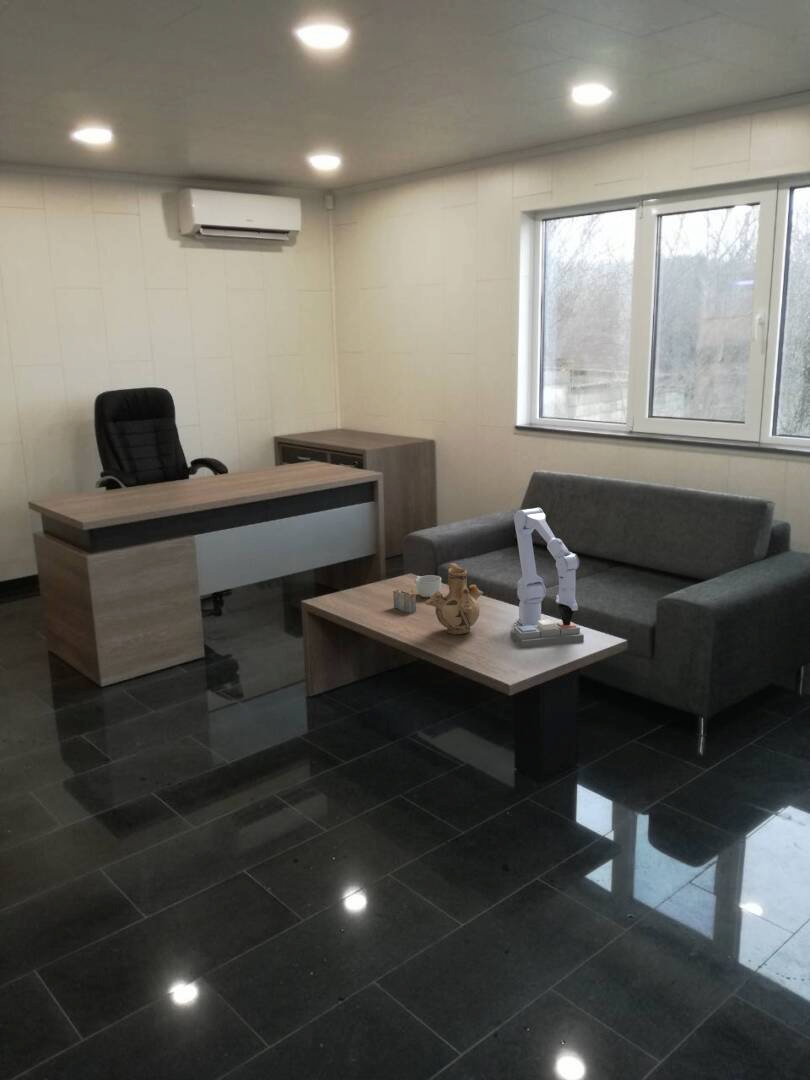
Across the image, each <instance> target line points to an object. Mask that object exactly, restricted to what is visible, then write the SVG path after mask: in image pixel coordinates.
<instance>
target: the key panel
mask: <svg viewBox="0 0 810 1080" xmlns="http://www.w3.org/2000/svg"><path fill="white" fill-rule="evenodd" d="M555 623H556V629H553V630H543V631H542V630H541V629H540V628H539V627H538V625H534V626H533V627H534V628H535V629H536V631H532V632H521V631H520V630H519V629H518V627H519V626H514V627H513V630H510V639H512V640H513V641H514V642H515V643H516V644H518V645H519V647H521V649H526V648H534V647H545V646H553V645H562V644H563V645H564V644H565V645H566V644H572V643H573V644H574V643H581V642H582V643H583V642H584V640H585V639H584V638H585V637H584V636H585V635H584V634H583V633H582V632H581V628H580V626H578V625H577V624H575V623H574V622H572V621H571V623H573V624H574V625H576V627H573V628H563V629H562V628H561V627H559V626H558V625H557V623H558V622H555Z"/></svg>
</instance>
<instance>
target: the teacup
mask: <svg viewBox="0 0 810 1080" xmlns="http://www.w3.org/2000/svg"><path fill="white" fill-rule="evenodd" d="M414 583H415V585H416V592H417V594H418V595H419V596H421V598H423V597H432V596H433V595H434V594H435V592H436V591H438V592H440V593H441V592H442V577H441V576H439V575H434V574H433V575H431V574H430V575H423V576H422V575H421V576H419V575H417V576H415V577H414Z"/></svg>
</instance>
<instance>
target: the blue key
mask: <svg viewBox="0 0 810 1080" xmlns="http://www.w3.org/2000/svg"><path fill="white" fill-rule="evenodd" d="M517 627H518V629H519V630H520V631H521V632H532V631H536V629H535V628H534V627H533V626H531V625H529V626H523V625H520V626H517Z"/></svg>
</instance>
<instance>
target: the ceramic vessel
mask: <svg viewBox="0 0 810 1080" xmlns="http://www.w3.org/2000/svg"><path fill="white" fill-rule="evenodd" d="M467 576H468V571H467V569H466V568H463V567H460V566H458V564H456V563H453V562H452V563H450V564H449V566H448V569H447V577H448V578H447V581H448V583H447V584H448V590H449V591H448V593H447V594H446V595H445V596H443V594H442V593H441V592H438V591H436V592H435V594H434V595H433V596H432V597H431V598H428V599H427V600H426V601H425V602H424V605H426V606H431V607H435V617H436V618H437V620H438V621H439V624H440V625H442V627H445V628H447V629H446V632H447V633H448V634H450V635H462V634H463V635H464V634H466V633H469V632H470V631H471V627H473V625H475V623H476V622H477V620H478V619H479V617H480V610H481V609H480V605H479V602H478V598H479V597H481V596H482V595H484V592H483V591H482V590H481V589H479V588H478V587H477V585H476V584H470V585H469V587H468V583H467V579H468V577H467Z"/></svg>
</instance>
